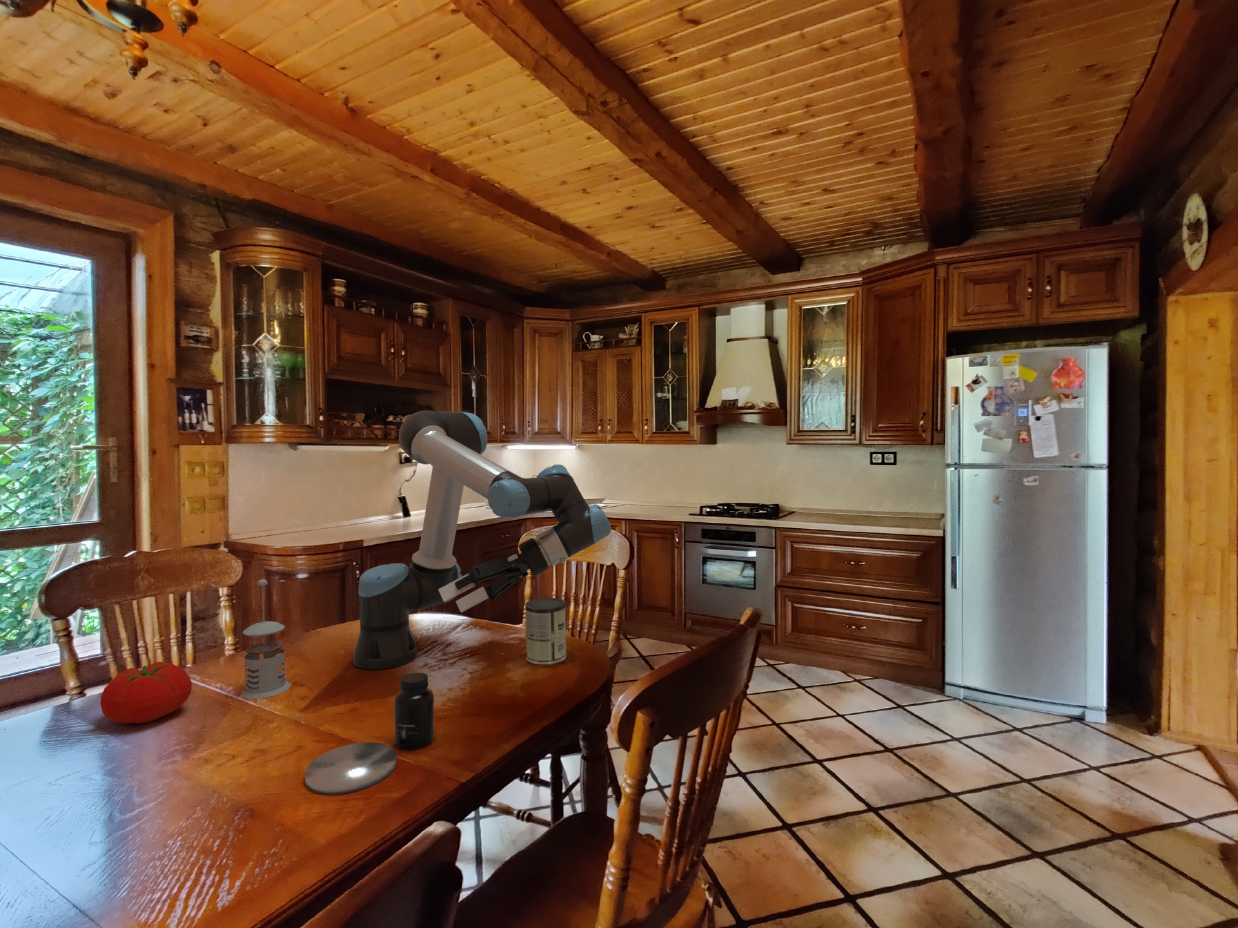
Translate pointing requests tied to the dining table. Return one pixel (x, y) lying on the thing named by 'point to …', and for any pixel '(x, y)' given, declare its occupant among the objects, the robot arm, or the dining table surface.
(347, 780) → the hub disc
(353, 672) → the dining table surface
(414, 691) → the supplement bottle
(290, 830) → the dining table surface
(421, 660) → the dining table surface
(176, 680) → the tomato
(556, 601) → the coffee can
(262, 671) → the french press
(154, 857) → the dining table surface
